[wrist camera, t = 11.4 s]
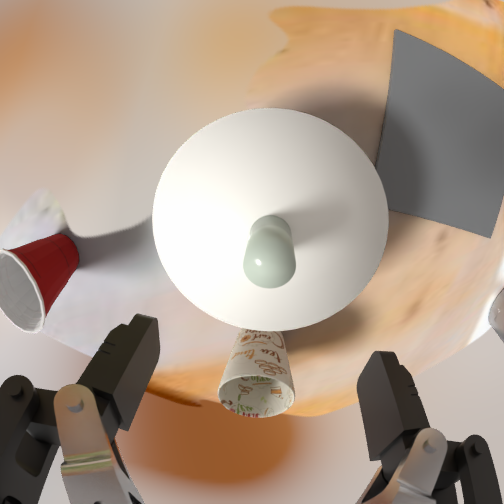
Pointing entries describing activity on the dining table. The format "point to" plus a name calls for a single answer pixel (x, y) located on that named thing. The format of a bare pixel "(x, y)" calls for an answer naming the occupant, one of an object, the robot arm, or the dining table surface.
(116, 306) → the dining table surface
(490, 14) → the dining table surface
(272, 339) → the mug
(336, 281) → the lid
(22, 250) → the plastic cup
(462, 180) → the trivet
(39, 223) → the dining table surface
